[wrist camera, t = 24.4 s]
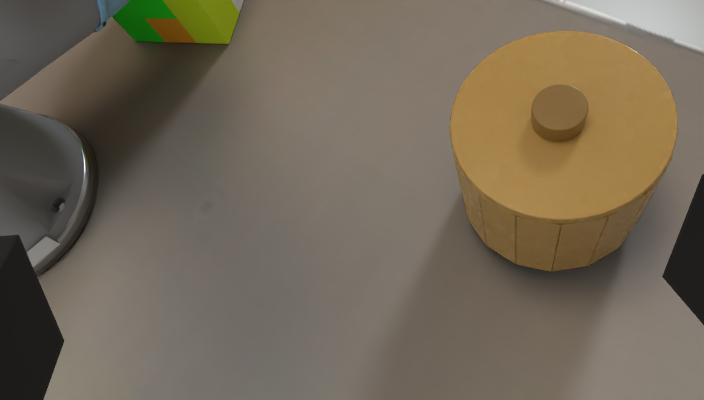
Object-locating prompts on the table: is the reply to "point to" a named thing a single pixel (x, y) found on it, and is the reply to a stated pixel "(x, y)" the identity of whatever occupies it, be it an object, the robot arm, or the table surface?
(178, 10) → the puzzle toy
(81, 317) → the table surface
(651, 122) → the lidded wooden canister
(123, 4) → the robot arm
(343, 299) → the table surface
